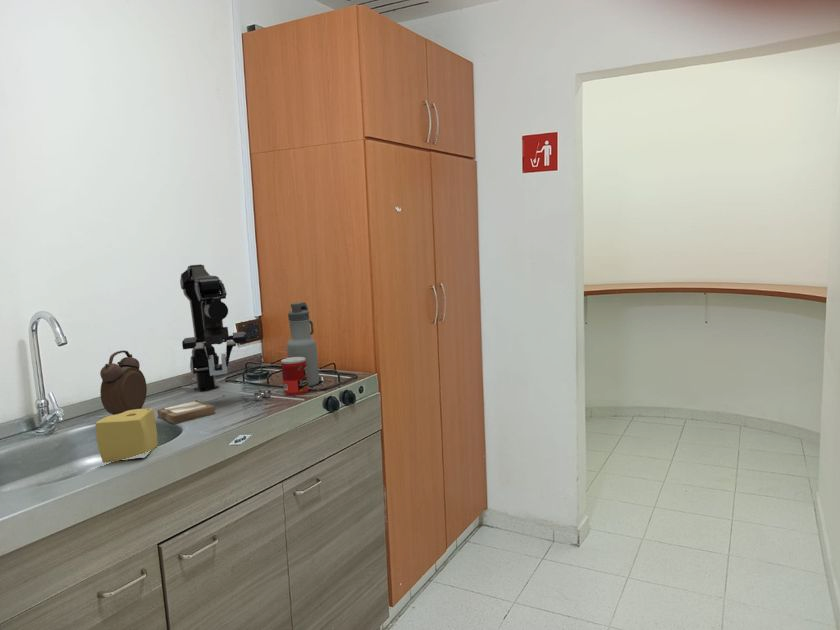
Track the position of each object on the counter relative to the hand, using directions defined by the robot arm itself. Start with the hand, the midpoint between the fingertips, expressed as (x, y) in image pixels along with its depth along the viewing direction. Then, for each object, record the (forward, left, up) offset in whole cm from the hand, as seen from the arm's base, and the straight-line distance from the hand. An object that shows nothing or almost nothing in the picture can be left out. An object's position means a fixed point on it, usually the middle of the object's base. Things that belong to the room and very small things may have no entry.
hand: (218, 367), depth 192 cm
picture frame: (+4, -13, -11) cm, 18 cm away
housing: (0, 0, -2) cm, 2 cm away
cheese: (+26, -36, -12) cm, 46 cm away
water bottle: (+3, +29, -12) cm, 31 cm away
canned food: (+10, +21, -12) cm, 26 cm away
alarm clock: (-11, -25, -12) cm, 30 cm away
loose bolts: (+5, +11, -11) cm, 16 cm away
